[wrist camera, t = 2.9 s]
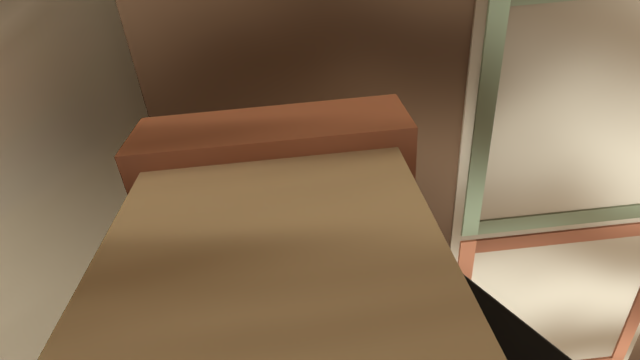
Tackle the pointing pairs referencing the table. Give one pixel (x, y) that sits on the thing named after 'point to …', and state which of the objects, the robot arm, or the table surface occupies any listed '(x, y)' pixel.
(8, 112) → the table surface
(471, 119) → the picture board
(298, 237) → the light wood block
